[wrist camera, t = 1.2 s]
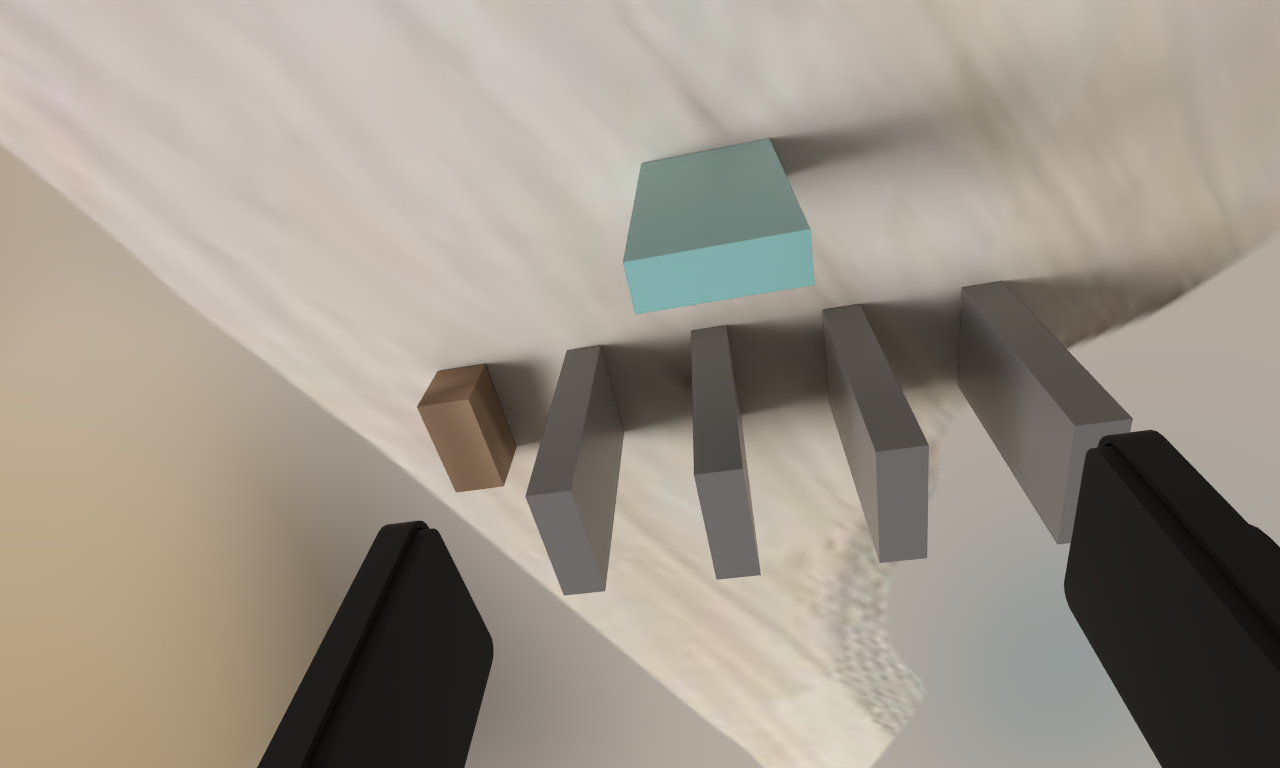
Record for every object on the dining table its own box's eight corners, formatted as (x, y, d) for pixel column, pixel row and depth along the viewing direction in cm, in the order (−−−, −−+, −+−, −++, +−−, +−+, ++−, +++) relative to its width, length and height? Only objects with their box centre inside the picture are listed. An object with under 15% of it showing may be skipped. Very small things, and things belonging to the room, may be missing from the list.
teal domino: (641, 163, 27) (623, 262, 19) (769, 138, 26) (810, 229, 18) (649, 202, 28) (635, 314, 20) (773, 179, 27) (815, 284, 19)
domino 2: (726, 325, 31) (743, 468, 22) (740, 415, 33) (760, 575, 25) (690, 330, 31) (694, 475, 23) (708, 420, 34) (716, 579, 25)
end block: (485, 364, 32) (468, 399, 30) (516, 447, 35) (503, 486, 32) (437, 371, 33) (416, 406, 30) (472, 453, 35) (456, 492, 33)
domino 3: (859, 303, 30) (928, 445, 21) (864, 398, 32) (926, 558, 24) (822, 309, 30) (875, 451, 22) (829, 403, 33) (879, 562, 24)
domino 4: (1001, 280, 29) (1132, 418, 21) (994, 380, 32) (1108, 538, 23) (961, 287, 29) (1074, 426, 21) (957, 385, 32) (1057, 544, 23)
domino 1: (600, 345, 32) (570, 490, 23) (624, 431, 34) (604, 591, 26) (566, 350, 32) (525, 496, 23) (592, 436, 34) (563, 595, 26)
